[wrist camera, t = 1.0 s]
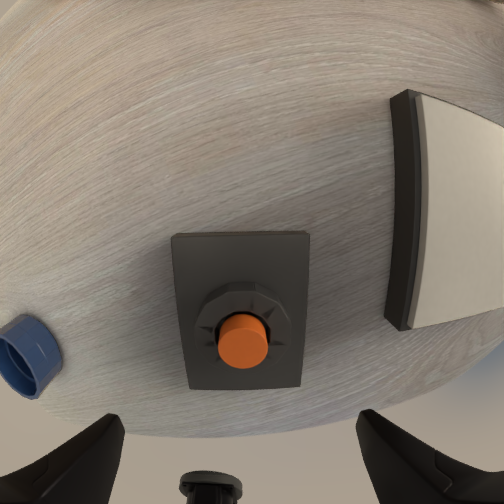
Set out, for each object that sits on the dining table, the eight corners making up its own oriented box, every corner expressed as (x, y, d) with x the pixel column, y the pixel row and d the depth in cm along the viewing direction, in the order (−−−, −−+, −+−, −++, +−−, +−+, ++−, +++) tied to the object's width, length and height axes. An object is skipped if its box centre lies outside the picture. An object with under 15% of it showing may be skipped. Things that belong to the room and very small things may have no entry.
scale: (495, 296, 19) (516, 307, 16) (383, 317, 19) (404, 337, 15) (504, 138, 16) (527, 136, 12) (389, 98, 15) (413, 84, 12)
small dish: (73, 378, 19) (50, 407, 15) (28, 366, 19) (6, 389, 14) (52, 315, 18) (21, 340, 13) (9, 309, 17) (-20, 328, 13)
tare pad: (297, 375, 19) (304, 401, 16) (191, 378, 19) (186, 404, 16) (304, 230, 17) (317, 238, 14) (176, 233, 17) (162, 241, 14)
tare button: (265, 351, 16) (267, 368, 14) (221, 352, 16) (219, 369, 14) (265, 312, 15) (268, 327, 13) (218, 313, 15) (216, 328, 13)
